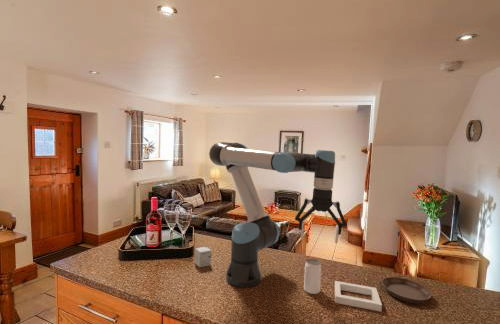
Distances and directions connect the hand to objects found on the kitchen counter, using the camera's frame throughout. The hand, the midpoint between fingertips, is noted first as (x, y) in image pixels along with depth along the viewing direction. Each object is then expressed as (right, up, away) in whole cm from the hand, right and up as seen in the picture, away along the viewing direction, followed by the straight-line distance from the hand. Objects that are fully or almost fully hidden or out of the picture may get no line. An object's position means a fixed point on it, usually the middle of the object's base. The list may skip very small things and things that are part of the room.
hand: (318, 239), depth 111 cm
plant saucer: (+36, -23, +1) cm, 43 cm away
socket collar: (+14, -22, -4) cm, 26 cm away
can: (-3, -21, 0) cm, 21 cm away
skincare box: (-51, -18, +20) cm, 58 cm away
